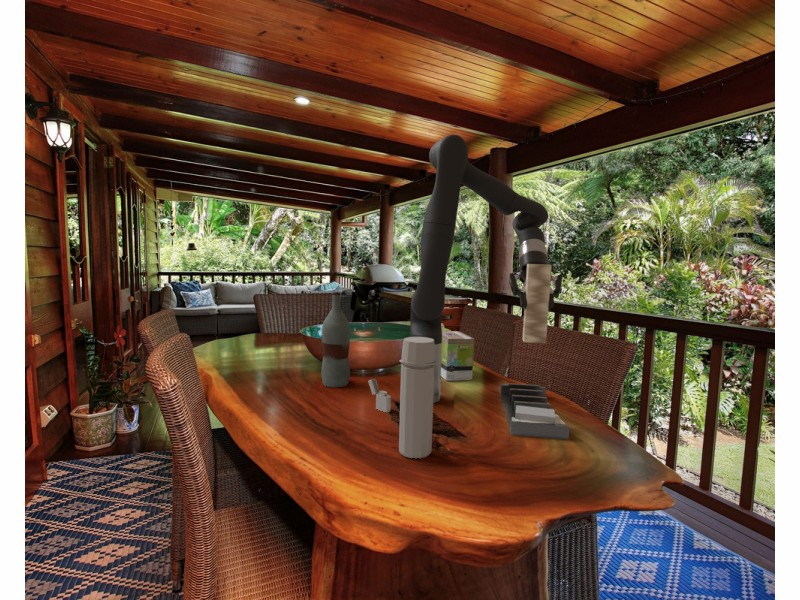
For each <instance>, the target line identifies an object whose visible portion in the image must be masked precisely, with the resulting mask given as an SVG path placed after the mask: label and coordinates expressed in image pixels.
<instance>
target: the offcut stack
mask: <svg viewBox="0 0 800 600" xmlns="http://www.w3.org/2000/svg"><path fill="white" fill-rule="evenodd" d="M512 421H518V422H530V423H545V424H559V425H566V423H565V422H564V421H563V420H562V419H561V417H560V416H559V415H558V414H556V413H555V409H553V408H551V409H545V408H536V407H527V406H518V405H516V413H515V417H512Z"/></svg>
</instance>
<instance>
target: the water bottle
mask: <svg viewBox="0 0 800 600" xmlns="http://www.w3.org/2000/svg"><path fill="white" fill-rule="evenodd" d="M435 361H436V360H435V344H434V340H433V339H431V338H426V337H411V336H408V337H404V338H403V342H402V351H401V359H399V362H400V363H401V364H400V391H399V392H400V396H399V431H398V432H399V436H398V437H399V439H398V440H399V441H398V450H399V453H400V455H402V456H403V457H406V458H409V459H412V458H415V459H414V460H419V459H425V458H427V457H428V456H429V455H430V454H431V453H432V446H433V444H432V443H433V442H432V441H433V422H434V421H433V417H434V415H433V414H434V403H433V391H434V365H433V364H436V363H437V362H435ZM417 458H419V459H417Z"/></svg>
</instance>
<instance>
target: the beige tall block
mask: <svg viewBox="0 0 800 600" xmlns="http://www.w3.org/2000/svg"><path fill="white" fill-rule="evenodd" d="M551 275H552V264H548V265H544V264H527V275H526V292H525V293H526V298H527V307H526V309H524V310H523V324H522V325H523V326H522V341H523V343H528V344H529V343H530V344H531V343H532V344H533V343H534V344H547V337H548V323H549V321H548V318H549V310H548V304H549V293H550V287H551V281H550V279H551Z"/></svg>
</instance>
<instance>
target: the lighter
mask: <svg viewBox="0 0 800 600" xmlns="http://www.w3.org/2000/svg"><path fill="white" fill-rule="evenodd" d="M367 382H368V385H369V388H370V391H371V394H372V396H373V395H375V410H376V409H378V410H377V411H379V410H380V411H379V412H382V411H383V413H385V412H386V414H387V413H390V412H391V408H392V407H391V404H392V399H391V398H392V397H391V395H389V394H388V392H387V391H385V390H380V388H379V385H378V382H377V379H376V378H371V379H369V380H368V381H367Z"/></svg>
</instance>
